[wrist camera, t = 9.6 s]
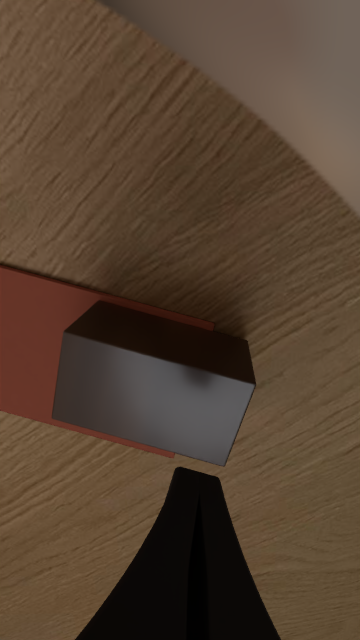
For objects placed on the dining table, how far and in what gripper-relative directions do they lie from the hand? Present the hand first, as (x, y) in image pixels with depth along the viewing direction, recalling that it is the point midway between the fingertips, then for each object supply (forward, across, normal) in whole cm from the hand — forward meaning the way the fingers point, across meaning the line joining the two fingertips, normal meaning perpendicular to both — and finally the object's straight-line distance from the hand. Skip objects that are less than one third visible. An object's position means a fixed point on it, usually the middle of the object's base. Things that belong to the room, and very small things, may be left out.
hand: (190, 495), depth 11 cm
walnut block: (+6, -2, 0) cm, 6 cm away
